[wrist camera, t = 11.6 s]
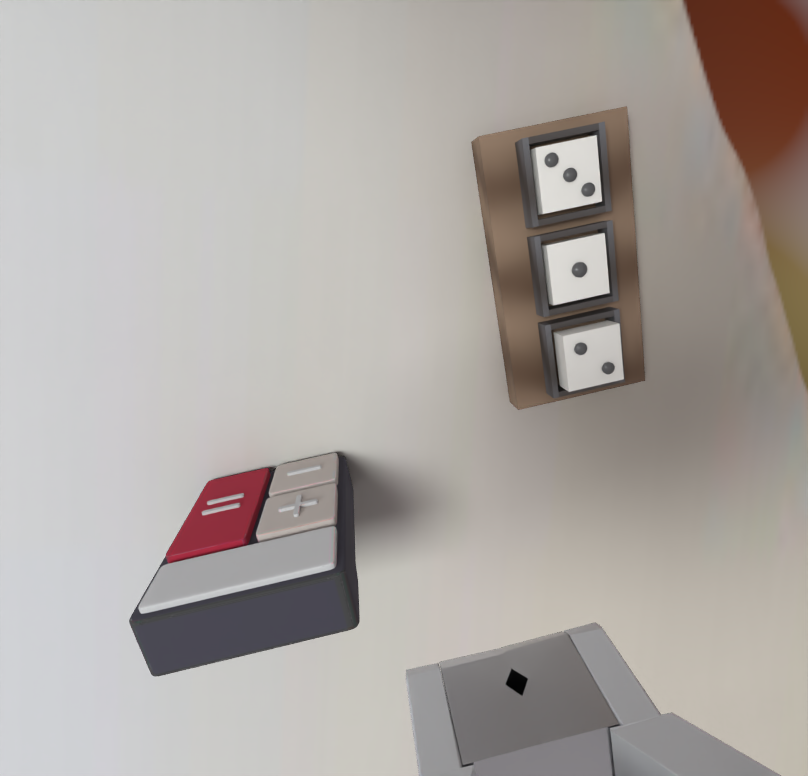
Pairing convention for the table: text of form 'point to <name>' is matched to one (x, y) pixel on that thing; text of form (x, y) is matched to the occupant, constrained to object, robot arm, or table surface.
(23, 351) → the table surface
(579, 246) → the key one
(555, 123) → the key panel
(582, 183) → the key three
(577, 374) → the key two
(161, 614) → the calculator
